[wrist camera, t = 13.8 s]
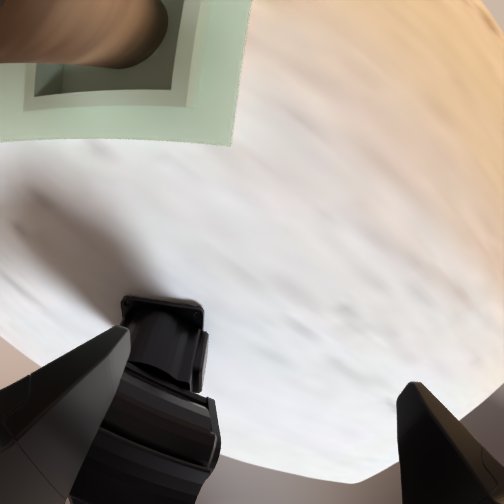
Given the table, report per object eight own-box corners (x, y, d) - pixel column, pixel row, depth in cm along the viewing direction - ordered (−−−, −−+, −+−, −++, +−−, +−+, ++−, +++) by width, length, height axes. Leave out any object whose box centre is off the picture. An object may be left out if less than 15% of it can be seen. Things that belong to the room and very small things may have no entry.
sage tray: (1, 140, 17) (-35, 152, 13) (24, -25, 11) (-9, -36, 7) (231, 143, 18) (225, 154, 14) (262, -58, 12) (263, -90, 8)
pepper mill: (83, 72, 15) (-100, 90, 3) (93, -3, 12) (-66, -54, 1) (163, 67, 15) (-5, 39, 3) (173, -14, 12) (56, -132, 1)
